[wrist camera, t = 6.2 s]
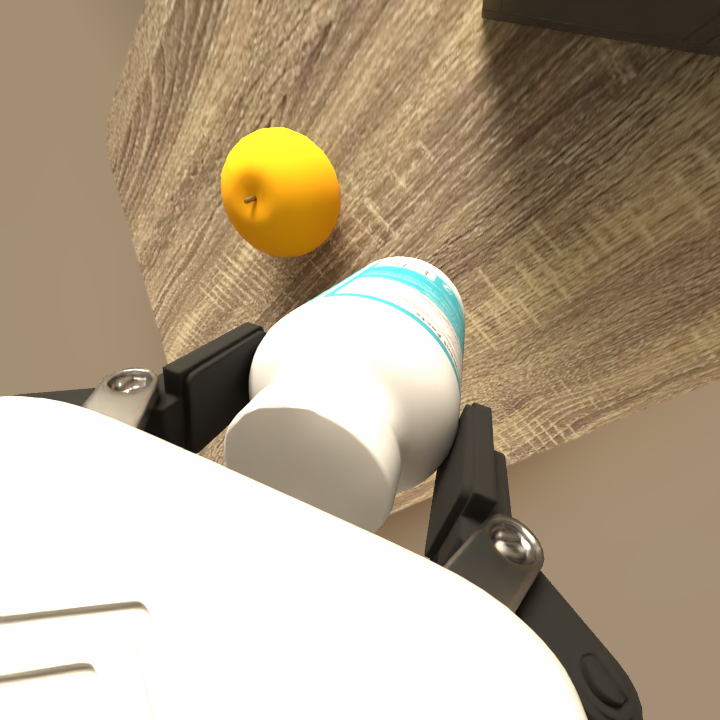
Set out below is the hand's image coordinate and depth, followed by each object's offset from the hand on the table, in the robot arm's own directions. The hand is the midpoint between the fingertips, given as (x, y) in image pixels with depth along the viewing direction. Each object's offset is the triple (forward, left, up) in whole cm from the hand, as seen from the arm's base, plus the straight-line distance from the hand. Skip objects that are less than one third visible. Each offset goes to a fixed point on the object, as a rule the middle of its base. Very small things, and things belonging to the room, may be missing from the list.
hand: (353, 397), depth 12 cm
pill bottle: (0, 0, -10) cm, 10 cm away
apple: (+11, -4, -17) cm, 21 cm away
